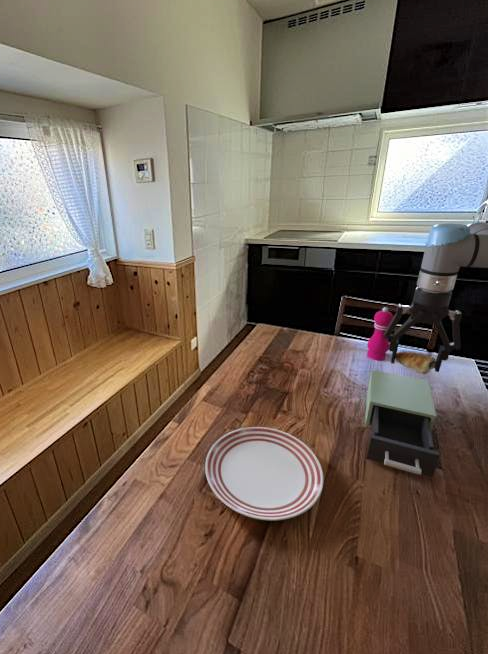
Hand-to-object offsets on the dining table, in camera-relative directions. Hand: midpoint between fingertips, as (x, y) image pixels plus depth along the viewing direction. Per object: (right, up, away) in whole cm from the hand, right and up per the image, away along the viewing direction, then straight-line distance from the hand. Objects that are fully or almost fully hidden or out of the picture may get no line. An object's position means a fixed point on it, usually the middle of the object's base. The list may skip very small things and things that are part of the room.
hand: (413, 365), depth 93 cm
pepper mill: (+9, -2, +34) cm, 36 cm away
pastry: (0, 0, 0) cm, 1 cm away
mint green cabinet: (-2, -15, +5) cm, 16 cm away
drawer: (-10, -21, -8) cm, 24 cm away
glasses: (-34, -8, +26) cm, 43 cm away
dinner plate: (-45, -26, -11) cm, 52 cm away
